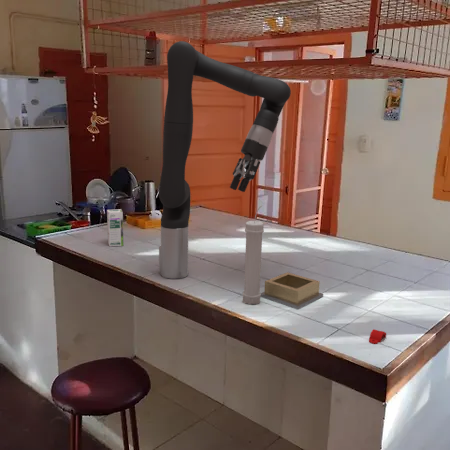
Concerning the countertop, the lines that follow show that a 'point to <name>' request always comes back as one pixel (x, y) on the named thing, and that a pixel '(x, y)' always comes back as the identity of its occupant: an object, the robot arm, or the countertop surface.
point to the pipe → (253, 261)
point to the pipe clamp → (376, 336)
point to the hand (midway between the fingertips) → (236, 190)
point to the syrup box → (115, 227)
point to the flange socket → (292, 290)
